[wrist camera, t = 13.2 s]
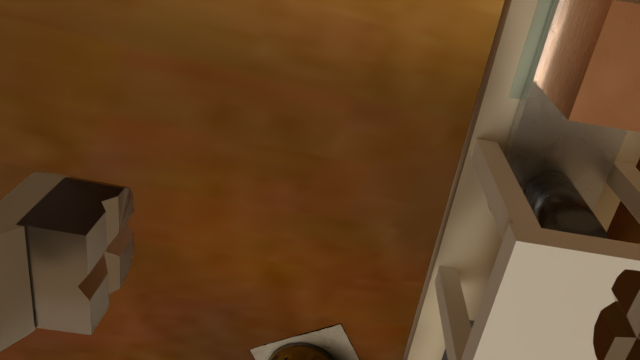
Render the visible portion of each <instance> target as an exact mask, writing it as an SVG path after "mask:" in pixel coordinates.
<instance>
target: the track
mask: <svg viewBox="0 0 640 360" xmlns="http://www.w3.org/2000/svg"><path fill="white" fill-rule="evenodd" d="M552 2H553V0H505V2H504V6H503V9H502V13H501V16H500V20H499V23H498V27H497V30H496V34H495V37H494V41H493V44H492V48H491V51H490V55H489V58H488V62H487V65H486V69H485V72H484V76H483V79H482V83H481V86H480V90H479V93H478V97H477V100H476V104H475V107H474V111H473V114H472V118H471V121H470V125H469V128H468V132H467V135H466V139H465V142H464V146H463V149H462V153H461V156H460V160H459V163H458V167H457V170H456V174H455V177H454V181H453V184H452V188H451V191H450V195H449V198H448V202H447V205H446V209H445V212H444V216H443V219H442V223H441V226H440V230H439V233H438V237H437V240H436V244H435V247H434V251H433V254H432V258H431V261H430V265H429V268H428V272H427V275H426V279H425V282H424V286H423V289H422V293H421V296H420V300H419V303H418V307H417V310H416V314H415V317H414V321H413V324H412V328H411V331H410V335H409V338H408V342H407V345H406V349H405V352H404V356H403V359H402V360H448V358H447V352H446V347H445V341H444V335H443V329H442V323H441V318H440V312H439V306H438V300H437V294H436V289H435V283H434V280H435V277H436V274H437V270H438V267H439V266H441V267H447V268H453V269H457V270H458V274H459V278H460V283H461V287H462V291H463V295H464V299H465V304H466V308H467V312H468V316H469V320H470V325H471V329H472V327H473V324H474V321H475V318H476V315H477V312H478V309H479V307H480V304H481V301H482V298H483V295H484V292H485V289H486V287H487V284H488V281H489V278H490V275H491V272H492V269H493V267H494V264H495V261H496V258H497V255H498V252H499V249H500V247H501V244H502V241H503V240H502V238H501V235H500V233H499V230H498V227H497V225H496V222H495V219H494V217H493V214H492V212H491V211H490V209H489V207H488V204H487V203H488V201H487V199H486V196H485V193H484V191H483V188H482V186H481V183H480V180H479V178H478V175H477V173H476V170H475V167H474V165H473V162H472V160H471V155H472V152H473V148H474V145H475V141H476V139H482V140H489V141H495V142H498V144H499V146H500V148H501V150H502V152H503V154H504V151H505V148H506V145H507V141H508V138H509V135H510V132H511V129H512V126H513V123H514V120H515V117H516V114H517V111H518V107H519V104H520V101H521V98H522V95H523V92H524V89H525V86H526V83H527V80H528V77H529V73H530V70H531V67H532V64H533V61H534V58H535V55H536V52H537V49H538V46H539V43H540V39H541V36H542V33H543V30H544V27H545V24H546V21H547V18H548V15H549V12H550V9H551V5H552ZM639 158H640V132H636V131H630V130H628V132H627V134H626V136H625V139H624V141H623V143H622V146H621V148H620V150H619V153H618V155H617V157H616V160H615V161H618V162H624V163H630V164H633V165H634V166H635V167H636V165H637V163H638V160H639ZM620 201H621V200H620V199H619V198H618V197H617V195H616V194H615V193H614V192H613V190H612V189H611V188H610V187H609V185H608V184H607V183H605V186H604V188H603V190H602V193H601V195H600V197H599V200H598V202H597V204H596V207H595V209H594V211H593V213H594V214H595V216H596V217H597V219H598V220H599V222H600V223H601V225H602V226H603V227H604V229H605V230H606V232H607V230H608V228H609V225H610V223H611V221H612V219H613V216H614V214H615V212H616V210H617V208H618V205H619V203H620Z"/></svg>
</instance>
